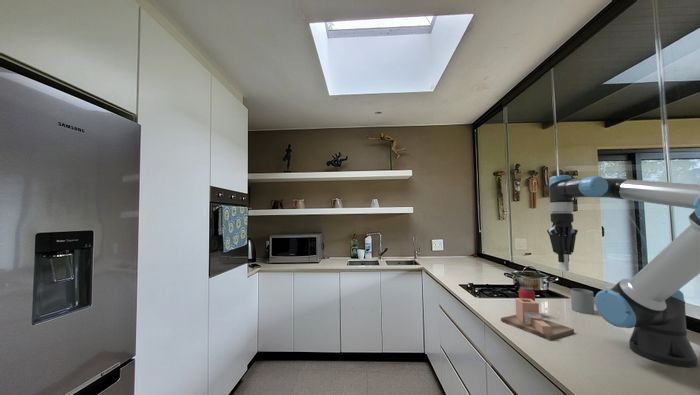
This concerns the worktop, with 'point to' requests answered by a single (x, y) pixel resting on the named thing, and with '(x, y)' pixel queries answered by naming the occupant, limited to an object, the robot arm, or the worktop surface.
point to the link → (537, 323)
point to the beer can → (526, 293)
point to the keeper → (531, 314)
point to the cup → (582, 301)
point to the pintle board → (556, 330)
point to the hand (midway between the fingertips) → (564, 270)
